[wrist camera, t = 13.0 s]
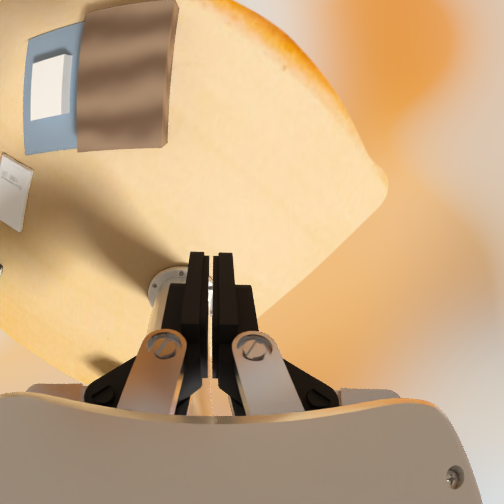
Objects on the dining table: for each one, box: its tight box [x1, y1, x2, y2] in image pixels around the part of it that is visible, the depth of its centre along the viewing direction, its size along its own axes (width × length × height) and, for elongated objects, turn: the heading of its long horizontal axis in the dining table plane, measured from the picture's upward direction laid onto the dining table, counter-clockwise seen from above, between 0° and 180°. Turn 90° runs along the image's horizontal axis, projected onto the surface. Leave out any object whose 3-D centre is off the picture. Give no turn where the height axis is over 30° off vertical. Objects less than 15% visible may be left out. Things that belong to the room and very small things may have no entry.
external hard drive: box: [0, 153, 34, 232], centre depth 34 cm, size 2×8×12 cm
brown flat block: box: [77, 0, 179, 152], centre depth 27 cm, size 20×12×4 cm, turn 174°
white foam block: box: [31, 54, 73, 121], centre depth 26 cm, size 9×6×2 cm, turn 174°
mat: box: [23, 21, 85, 155], centre depth 27 cm, size 20×13×1 cm, turn 174°
